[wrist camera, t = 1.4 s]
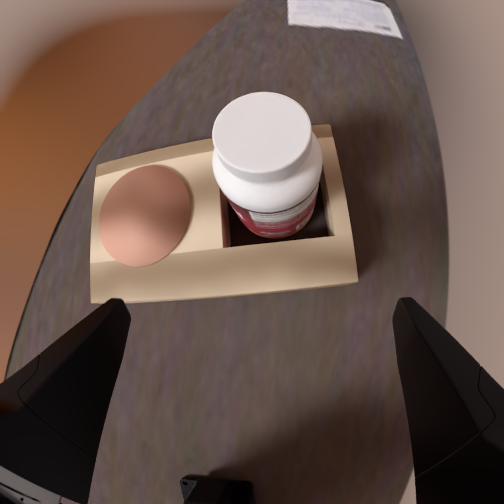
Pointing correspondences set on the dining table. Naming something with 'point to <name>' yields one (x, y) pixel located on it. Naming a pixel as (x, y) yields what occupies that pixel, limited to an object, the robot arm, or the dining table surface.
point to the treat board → (203, 232)
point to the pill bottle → (267, 162)
